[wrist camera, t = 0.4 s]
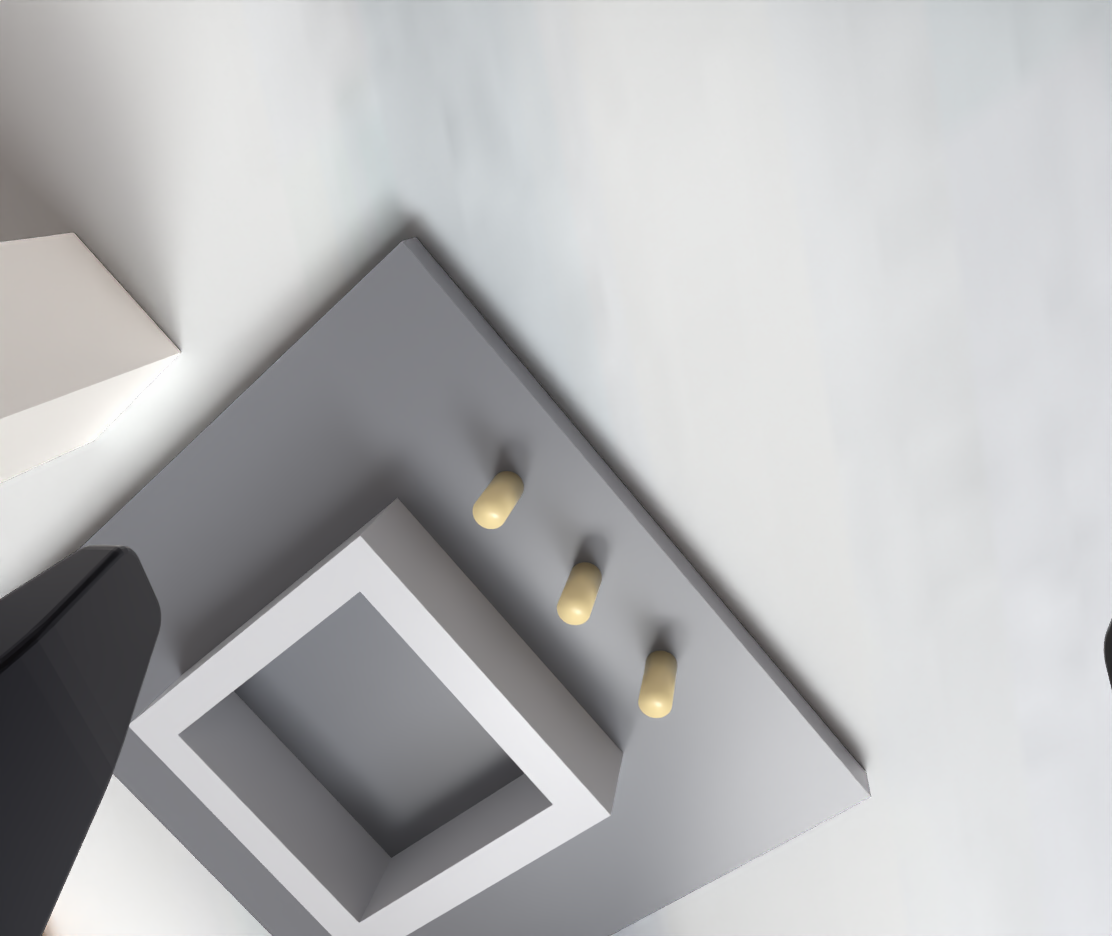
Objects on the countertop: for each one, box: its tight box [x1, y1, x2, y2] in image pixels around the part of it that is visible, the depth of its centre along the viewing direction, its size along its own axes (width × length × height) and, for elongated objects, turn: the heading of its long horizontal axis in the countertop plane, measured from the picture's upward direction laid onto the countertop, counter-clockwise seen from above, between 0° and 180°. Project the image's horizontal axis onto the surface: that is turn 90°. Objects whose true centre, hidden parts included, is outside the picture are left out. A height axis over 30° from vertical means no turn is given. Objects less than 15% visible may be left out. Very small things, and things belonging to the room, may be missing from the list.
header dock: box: [78, 237, 871, 936], centre depth 25 cm, size 18×18×4 cm
